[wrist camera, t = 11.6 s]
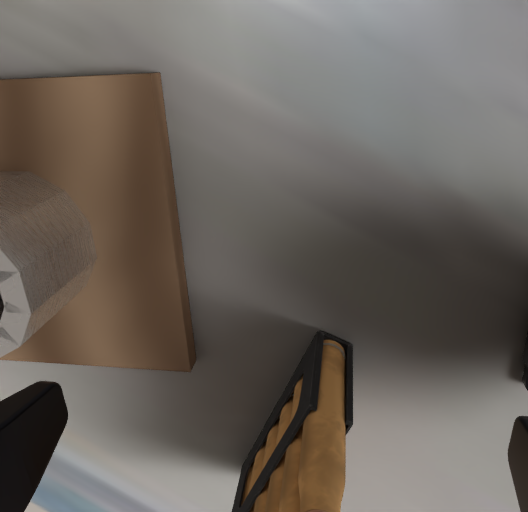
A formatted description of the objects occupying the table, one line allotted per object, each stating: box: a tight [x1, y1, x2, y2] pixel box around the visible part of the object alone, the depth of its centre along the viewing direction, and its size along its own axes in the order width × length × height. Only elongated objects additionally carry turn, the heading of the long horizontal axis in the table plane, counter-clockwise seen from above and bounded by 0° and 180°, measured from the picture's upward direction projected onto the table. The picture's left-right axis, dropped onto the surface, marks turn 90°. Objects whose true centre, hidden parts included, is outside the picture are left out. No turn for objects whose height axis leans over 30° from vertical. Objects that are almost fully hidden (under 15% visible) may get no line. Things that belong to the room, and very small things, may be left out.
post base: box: [0, 73, 196, 372], centre depth 20 cm, size 14×14×6 cm
